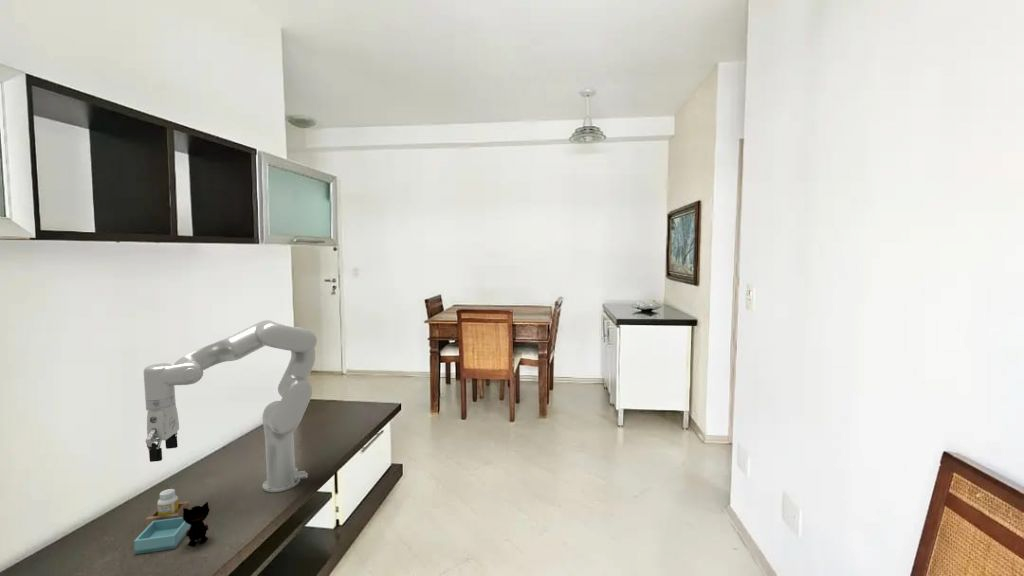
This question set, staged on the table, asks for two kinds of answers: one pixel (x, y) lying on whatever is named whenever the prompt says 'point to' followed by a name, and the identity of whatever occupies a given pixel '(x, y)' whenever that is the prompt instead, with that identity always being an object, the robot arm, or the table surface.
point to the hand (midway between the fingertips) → (164, 454)
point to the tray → (161, 535)
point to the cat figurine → (196, 523)
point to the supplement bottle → (167, 502)
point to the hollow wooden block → (178, 514)
